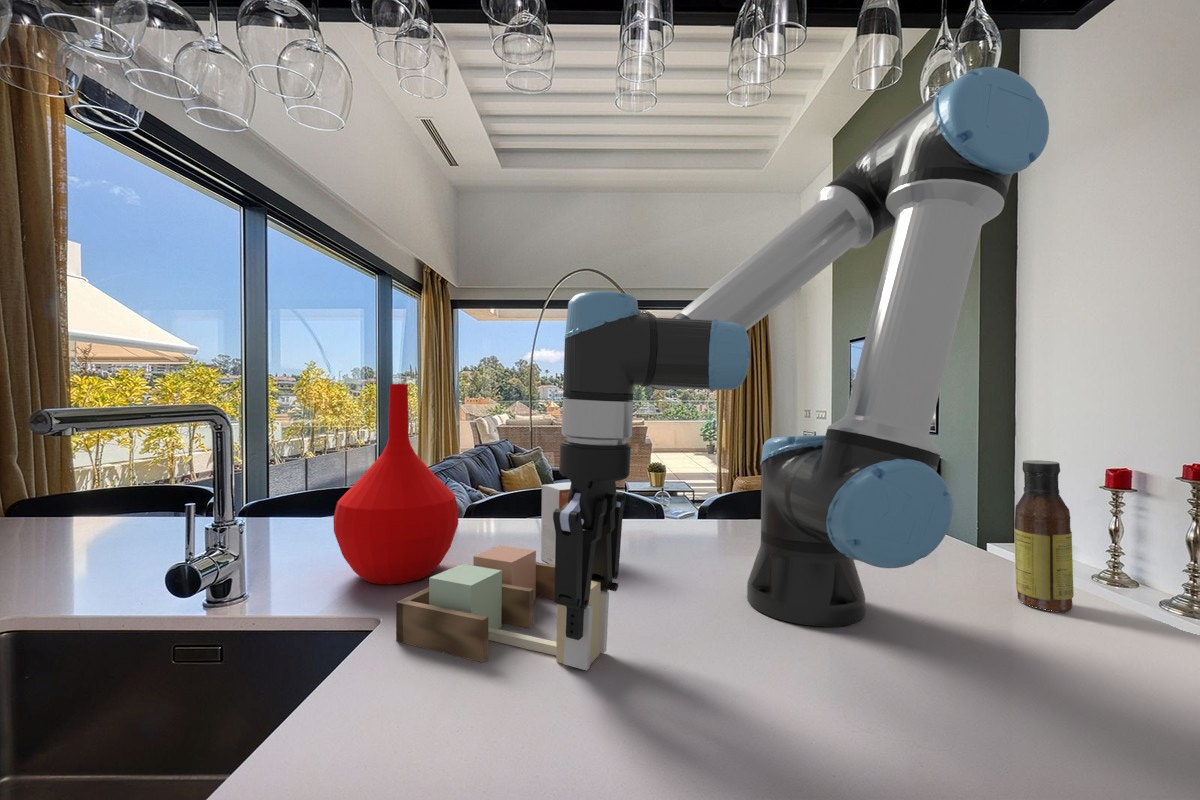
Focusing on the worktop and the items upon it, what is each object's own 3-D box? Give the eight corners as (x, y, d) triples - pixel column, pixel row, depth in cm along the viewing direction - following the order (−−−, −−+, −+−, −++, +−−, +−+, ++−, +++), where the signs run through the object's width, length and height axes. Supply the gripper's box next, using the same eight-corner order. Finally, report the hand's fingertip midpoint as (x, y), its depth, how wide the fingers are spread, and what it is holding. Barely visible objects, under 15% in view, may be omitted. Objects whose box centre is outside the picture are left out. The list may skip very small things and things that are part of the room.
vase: (406, 603, 76) (407, 383, 75) (304, 585, 82) (304, 382, 82) (480, 564, 93) (481, 385, 93) (391, 552, 99) (391, 384, 99)
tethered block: (604, 650, 62) (605, 578, 62) (580, 674, 57) (581, 596, 57) (461, 618, 71) (462, 555, 71) (428, 637, 65) (429, 569, 65)
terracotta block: (535, 600, 77) (535, 550, 77) (511, 616, 72) (511, 562, 72) (499, 594, 80) (499, 545, 80) (473, 608, 74) (473, 556, 74)
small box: (558, 569, 91) (558, 489, 90) (540, 559, 96) (540, 484, 96) (599, 561, 95) (600, 485, 95) (580, 552, 100) (581, 480, 100)
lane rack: (568, 599, 78) (568, 567, 78) (482, 662, 59) (482, 620, 59) (496, 586, 82) (496, 556, 82) (396, 641, 64) (396, 602, 64)
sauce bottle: (1064, 601, 78) (1067, 460, 78) (1080, 617, 73) (1083, 465, 73) (1007, 594, 81) (1010, 457, 81) (1019, 609, 76) (1022, 462, 75)
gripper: (596, 432, 69) (587, 621, 69) (523, 442, 53) (513, 683, 54) (654, 437, 65) (644, 635, 66) (594, 449, 50) (582, 705, 51)
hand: (585, 656), depth 60 cm, fingers closed on tethered block, 3 cm apart
